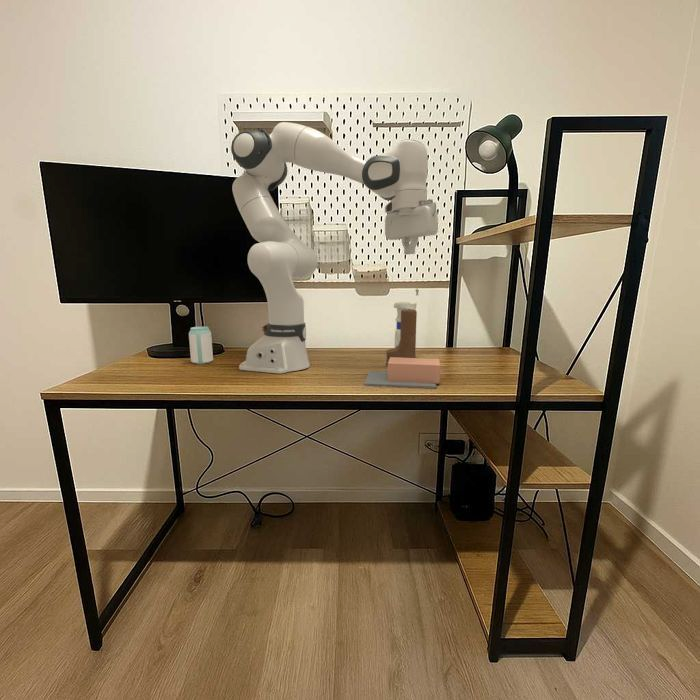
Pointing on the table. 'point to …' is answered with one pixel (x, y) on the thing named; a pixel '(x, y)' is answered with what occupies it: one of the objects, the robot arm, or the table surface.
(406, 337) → the wooden block
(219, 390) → the table surface
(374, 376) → the mat
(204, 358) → the can
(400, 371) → the terracotta block
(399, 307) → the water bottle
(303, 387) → the table surface
